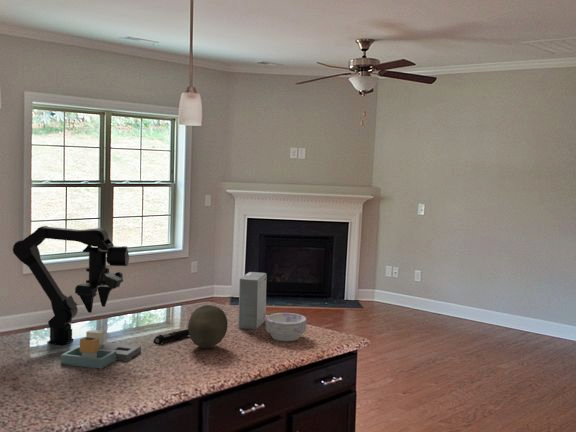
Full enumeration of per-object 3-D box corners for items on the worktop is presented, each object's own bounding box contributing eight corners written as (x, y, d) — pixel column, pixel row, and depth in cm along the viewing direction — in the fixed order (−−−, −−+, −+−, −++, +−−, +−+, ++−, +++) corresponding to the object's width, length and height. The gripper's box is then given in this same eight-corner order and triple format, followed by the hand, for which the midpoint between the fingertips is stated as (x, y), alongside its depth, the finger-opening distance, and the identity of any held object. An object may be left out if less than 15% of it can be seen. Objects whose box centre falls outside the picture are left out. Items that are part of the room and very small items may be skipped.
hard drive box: (247, 318, 259) (249, 271, 257) (265, 320, 258) (267, 272, 256) (237, 328, 244) (239, 278, 242) (256, 330, 243) (258, 279, 241)
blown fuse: (79, 361, 197) (79, 338, 196) (84, 358, 200) (84, 336, 199) (94, 362, 196) (94, 340, 195) (98, 359, 199) (99, 337, 198)
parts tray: (61, 364, 195) (61, 354, 195) (76, 355, 204) (77, 346, 203) (101, 369, 192) (102, 359, 192) (116, 360, 201) (116, 351, 200)
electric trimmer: (192, 337, 230) (193, 329, 230) (159, 345, 218) (159, 337, 218) (186, 335, 233) (186, 327, 232) (152, 343, 221) (152, 334, 221)
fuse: (86, 352, 207) (86, 331, 207) (90, 349, 210) (91, 329, 210) (99, 353, 206) (100, 333, 206) (104, 351, 209) (104, 330, 209)
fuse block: (76, 354, 204) (76, 348, 204) (92, 346, 214) (92, 340, 214) (126, 360, 200) (126, 354, 200) (140, 351, 210) (140, 346, 210)
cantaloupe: (178, 347, 217) (179, 305, 215) (209, 339, 227) (211, 299, 226) (204, 357, 207) (205, 313, 206) (235, 349, 218) (237, 307, 216)
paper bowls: (258, 340, 230) (259, 319, 229) (274, 330, 244) (275, 310, 243) (296, 346, 224) (297, 324, 223) (311, 336, 238) (312, 315, 237)
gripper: (105, 271, 204) (104, 318, 206) (131, 262, 222) (130, 305, 224) (74, 268, 207) (74, 315, 208) (102, 260, 225) (102, 302, 226)
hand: (96, 309), depth 216 cm, fingers open, 9 cm apart
